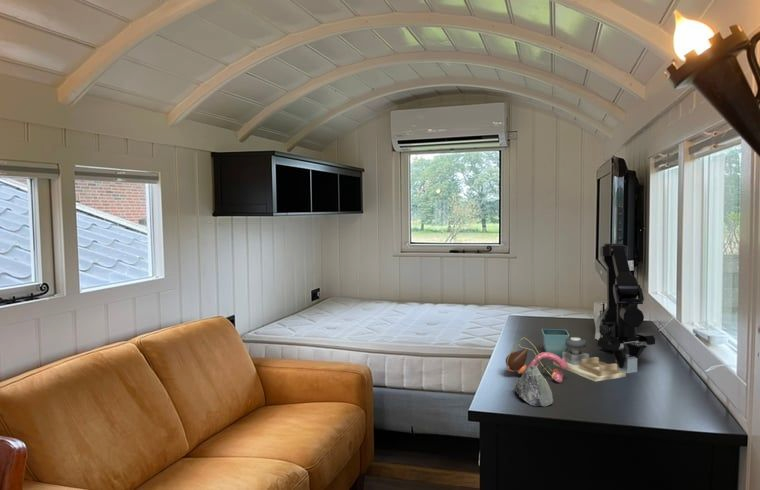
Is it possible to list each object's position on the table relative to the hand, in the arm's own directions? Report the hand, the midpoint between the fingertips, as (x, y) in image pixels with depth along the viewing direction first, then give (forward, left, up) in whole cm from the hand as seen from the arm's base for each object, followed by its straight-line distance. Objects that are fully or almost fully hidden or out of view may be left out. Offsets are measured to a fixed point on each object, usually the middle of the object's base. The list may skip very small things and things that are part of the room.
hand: (626, 367), depth 173 cm
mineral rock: (+43, +10, -1) cm, 44 cm away
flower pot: (+10, -23, -1) cm, 25 cm away
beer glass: (-23, -36, -1) cm, 43 cm away
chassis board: (+11, -5, -1) cm, 12 cm away
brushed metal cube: (0, 0, -1) cm, 1 cm away
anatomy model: (+31, -5, -1) cm, 32 cm away
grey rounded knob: (+11, -11, +3) cm, 16 cm away
